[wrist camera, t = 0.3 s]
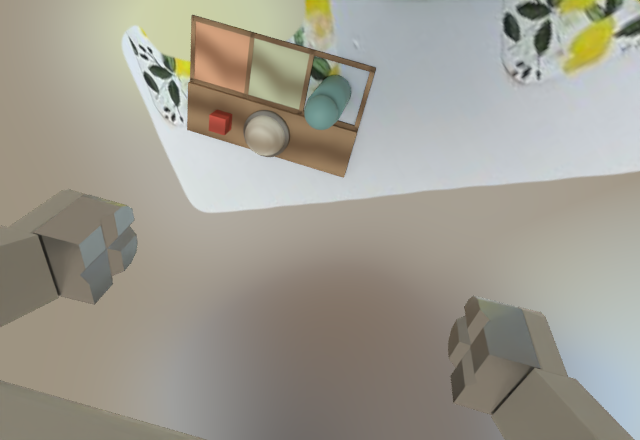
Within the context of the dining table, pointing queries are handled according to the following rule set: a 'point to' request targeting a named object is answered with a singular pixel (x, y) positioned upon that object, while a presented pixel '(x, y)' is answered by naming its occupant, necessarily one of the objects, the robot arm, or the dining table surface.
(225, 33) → the game board
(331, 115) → the pawn
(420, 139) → the dining table surface
